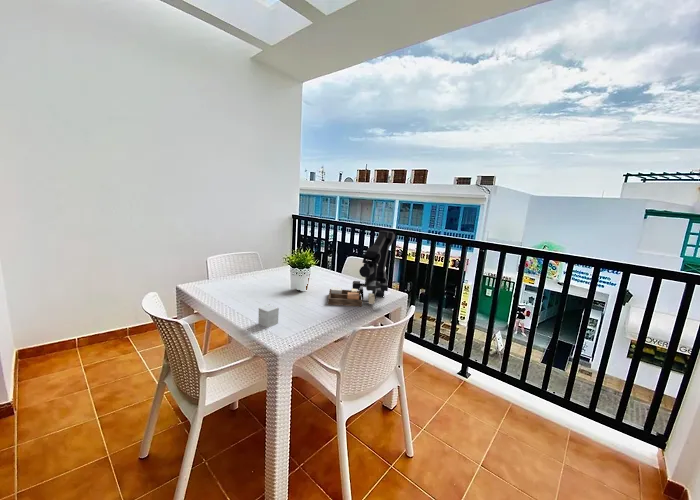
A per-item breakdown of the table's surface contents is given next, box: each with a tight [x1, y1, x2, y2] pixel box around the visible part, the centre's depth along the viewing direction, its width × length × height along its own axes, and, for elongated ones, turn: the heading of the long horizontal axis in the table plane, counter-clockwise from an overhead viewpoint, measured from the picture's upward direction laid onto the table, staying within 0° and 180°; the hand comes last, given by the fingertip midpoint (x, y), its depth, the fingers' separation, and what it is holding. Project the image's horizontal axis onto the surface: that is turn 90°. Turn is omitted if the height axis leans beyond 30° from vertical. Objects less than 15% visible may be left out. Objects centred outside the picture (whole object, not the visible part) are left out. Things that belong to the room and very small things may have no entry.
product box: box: [257, 303, 280, 329], centre depth 118 cm, size 6×6×7 cm
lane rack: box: [327, 288, 363, 307], centre depth 153 cm, size 18×16×3 cm
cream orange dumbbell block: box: [347, 292, 376, 305], centre depth 149 cm, size 14×6×4 cm, turn 91°
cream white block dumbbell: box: [330, 286, 358, 294], centre depth 156 cm, size 14×6×4 cm, turn 91°
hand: (368, 301), depth 150 cm, fingers closed on cream orange dumbbell block, 6 cm apart
